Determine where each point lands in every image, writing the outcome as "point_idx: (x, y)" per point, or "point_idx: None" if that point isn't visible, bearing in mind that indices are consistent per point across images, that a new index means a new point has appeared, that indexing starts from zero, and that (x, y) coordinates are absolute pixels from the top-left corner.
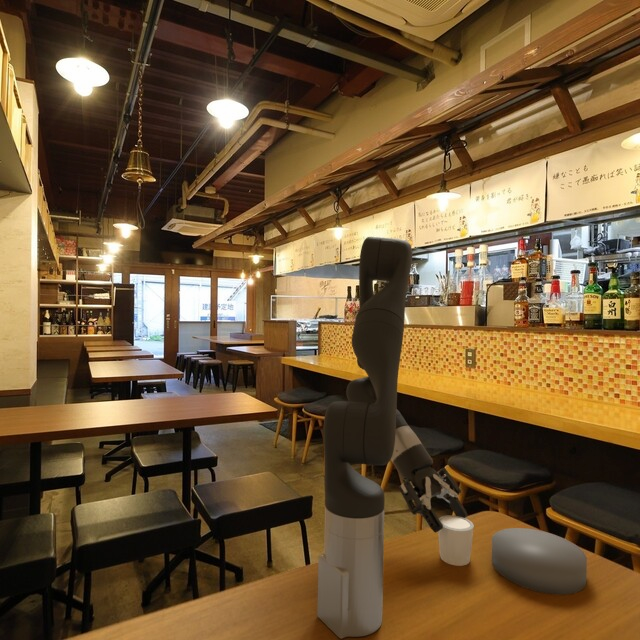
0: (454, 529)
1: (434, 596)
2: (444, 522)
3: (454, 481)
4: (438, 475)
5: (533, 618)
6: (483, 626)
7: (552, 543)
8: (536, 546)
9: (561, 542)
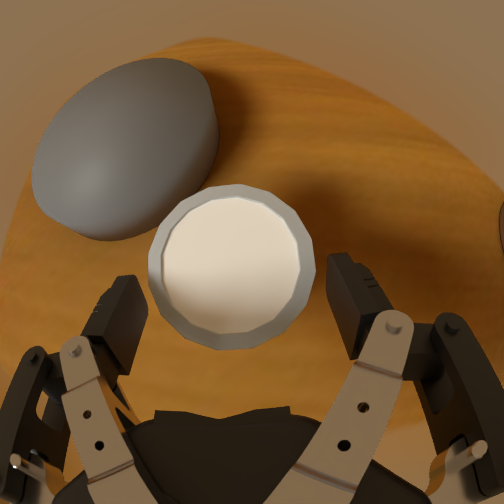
0: (292, 216)
1: (412, 198)
2: (271, 295)
3: (5, 399)
4: (64, 501)
5: (292, 80)
6: (382, 110)
7: (72, 126)
8: (104, 126)
9: (59, 125)
